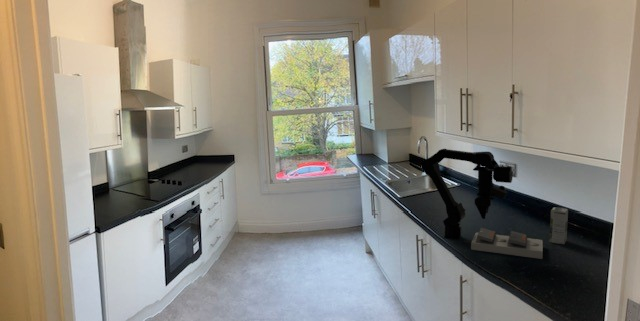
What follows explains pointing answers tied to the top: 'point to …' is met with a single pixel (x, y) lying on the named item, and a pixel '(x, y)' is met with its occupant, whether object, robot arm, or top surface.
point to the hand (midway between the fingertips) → (484, 215)
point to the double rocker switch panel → (508, 246)
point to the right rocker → (517, 238)
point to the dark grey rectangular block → (486, 234)
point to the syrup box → (558, 225)
